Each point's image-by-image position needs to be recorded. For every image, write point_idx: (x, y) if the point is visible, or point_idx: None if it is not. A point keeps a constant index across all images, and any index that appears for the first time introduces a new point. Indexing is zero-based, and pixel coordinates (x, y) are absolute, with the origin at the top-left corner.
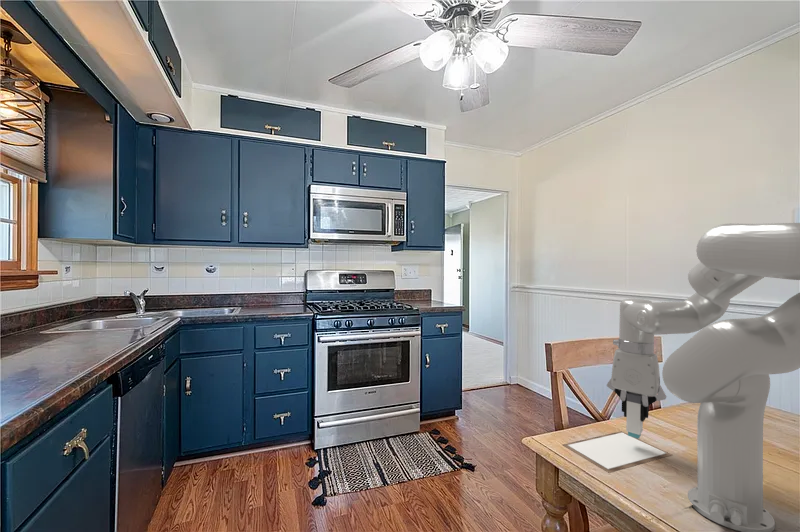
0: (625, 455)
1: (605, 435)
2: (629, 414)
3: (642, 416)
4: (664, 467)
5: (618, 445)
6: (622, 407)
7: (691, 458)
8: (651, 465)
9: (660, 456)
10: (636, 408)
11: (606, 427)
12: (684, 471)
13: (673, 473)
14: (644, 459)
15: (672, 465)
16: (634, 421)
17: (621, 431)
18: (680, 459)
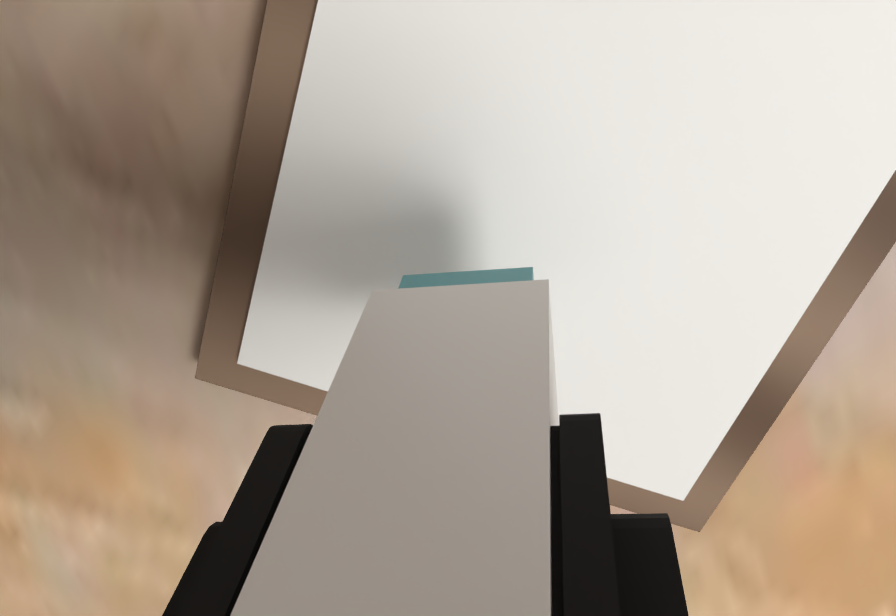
0: None
1: (818, 334)
2: (493, 454)
3: (255, 486)
4: (161, 114)
5: (628, 173)
6: (662, 573)
7: (126, 456)
8: (251, 51)
9: (244, 265)
10: (320, 587)
11: (849, 551)
12: (31, 179)
13: (55, 51)
14: (306, 55)
15: (142, 217)
16: (417, 389)
17: (697, 526)
18: (162, 381)
